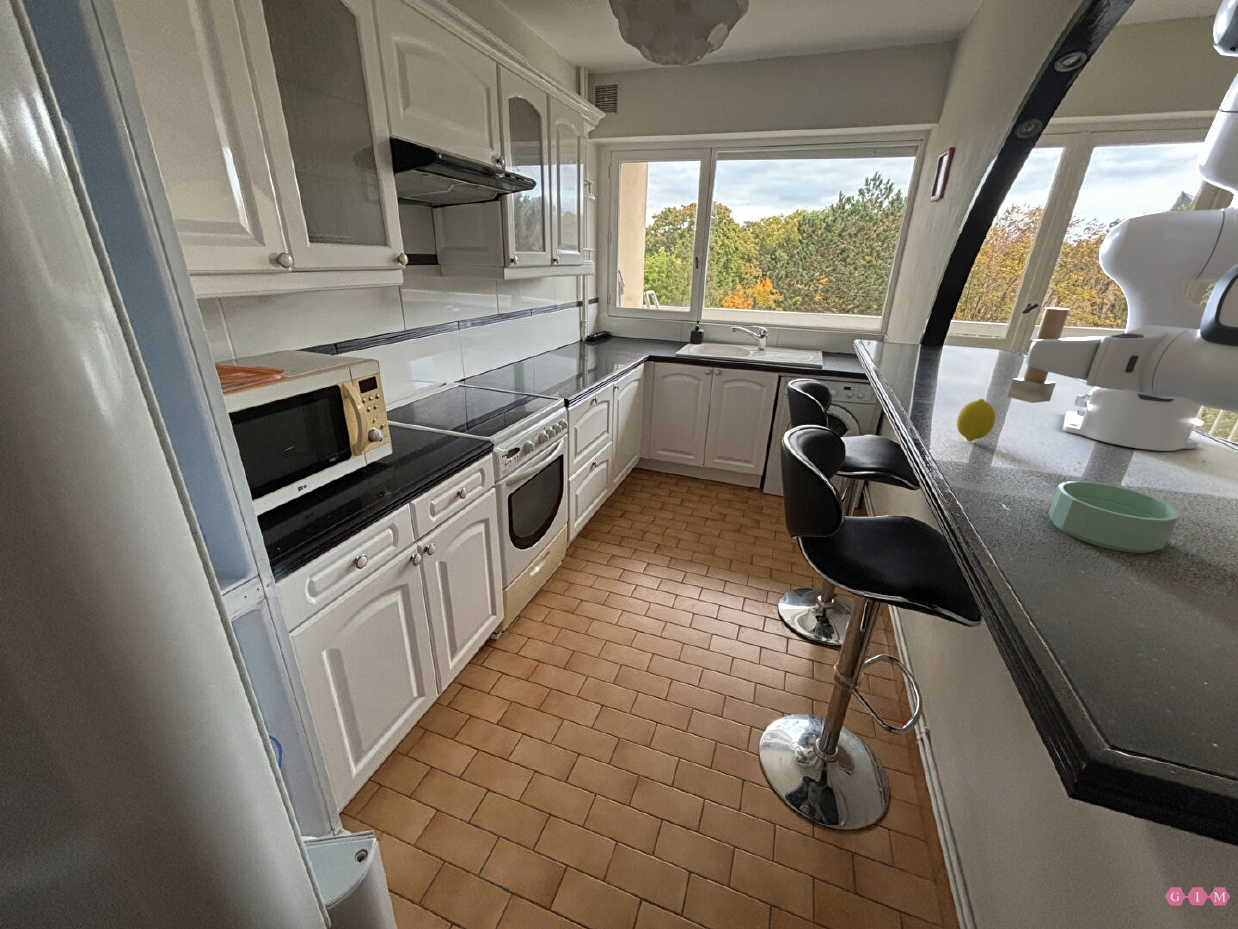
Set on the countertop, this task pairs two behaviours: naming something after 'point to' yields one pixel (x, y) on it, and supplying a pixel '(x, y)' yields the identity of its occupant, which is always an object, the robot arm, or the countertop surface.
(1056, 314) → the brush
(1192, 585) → the countertop surface
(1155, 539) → the bowl
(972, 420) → the lemon
